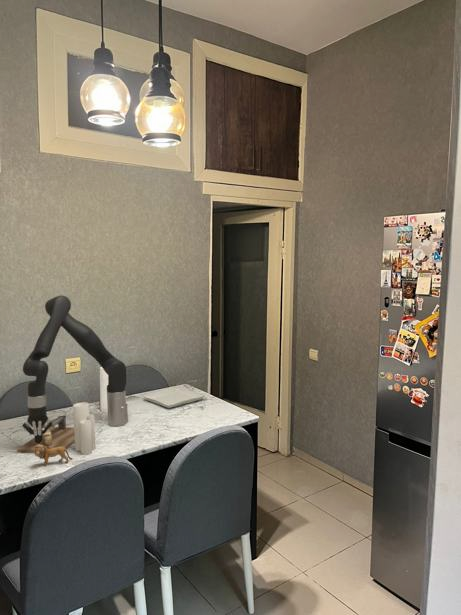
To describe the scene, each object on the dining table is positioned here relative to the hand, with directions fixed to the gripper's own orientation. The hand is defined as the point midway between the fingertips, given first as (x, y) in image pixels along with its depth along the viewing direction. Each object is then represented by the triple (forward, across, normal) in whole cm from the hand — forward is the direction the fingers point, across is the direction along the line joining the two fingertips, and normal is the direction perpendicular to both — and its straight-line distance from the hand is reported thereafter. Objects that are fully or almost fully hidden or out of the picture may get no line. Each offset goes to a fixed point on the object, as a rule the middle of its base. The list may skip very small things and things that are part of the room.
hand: (38, 442), depth 205 cm
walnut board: (+2, +6, +7) cm, 9 cm away
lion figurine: (+3, +9, -19) cm, 21 cm away
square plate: (+2, +65, +58) cm, 87 cm away
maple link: (+1, +3, +6) cm, 6 cm away
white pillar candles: (+2, +21, -7) cm, 22 cm away
